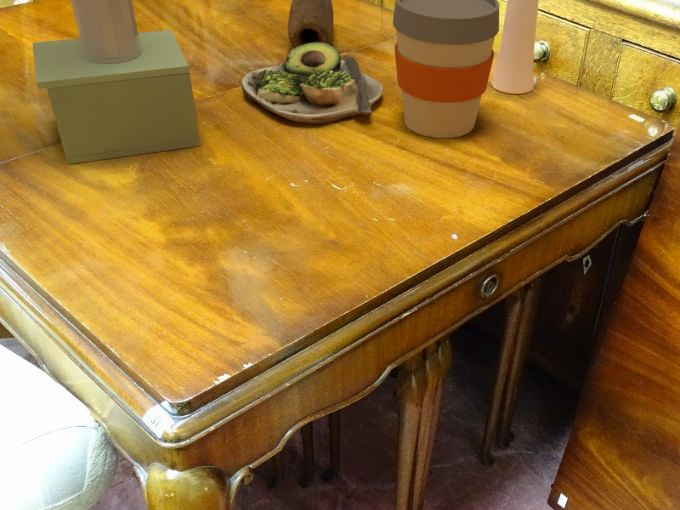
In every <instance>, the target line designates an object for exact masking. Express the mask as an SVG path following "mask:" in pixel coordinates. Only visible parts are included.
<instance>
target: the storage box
mask: <svg viewBox="0 0 680 510" xmlns="http://www.w3.org/2000/svg"><path fill="white" fill-rule="evenodd" d="M46 90H47V91H46V92H47V94H48V98H49V102H50V105H51V108H52V112H53V115H54V119H55V123H56V127H57V130H58V134H59V138H60V142H61V144H62V148H63V152H64V156H65V159H66V163H67V165H74V164H81V163H87V162H94V161H95V162H96V161H103V160H109V159H110V160H111V159H116V158H125V157H130V156H139V155H145V154H152V153H158V152H167V151H173V150H180V149H188V148H194V147H195V148H196V147H201V146H202V145H201V138H200V131H199V125H198V118H197V113H196V112H197V111H196V104H195V99H194V90H193V85H192V78H191V72H190V73H182V74H174V75H165V76H156V77H147V78H138V79H129V80H120V81H111V82H102V83H93V84H84V85H75V86H66V87H57V88H48V89H46Z"/></svg>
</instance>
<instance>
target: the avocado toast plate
mask: <svg viewBox="0 0 680 510" xmlns="http://www.w3.org/2000/svg"><path fill="white" fill-rule="evenodd" d="M285 58H286V60H285V61H284V63H283V64H280V65H273V66H268V67H262V68H258V69H255V70H252V71H251V70H250V71H249V72H247V73H246V74H245V75H243V78H242V80H241V89H242V91H243V93H244V95H245V96H246V97H247V98H248V99H249V100H250V101H252V102H254V103H256V104H258V105H259V106H261V107H263V109H266V110H267V111H270V112H271V113H273V114H276V115H277V116H280V117H283V118H285V119H286V120H289V121H291V122H294V123H301V124H302V123H303V124H310V125H311V124H315V125H319V124H327V123H328V124H329V123H333V122H336V121H339V120H343V119H346V118H349V117H355V116H357V115H359V114H361V115H370V114H372V113H373V108H372V105H374V103H376V102H377V101H379V99H380V98H381V96H382V94H383V91H384V87H383V84H382V83H380V82H379V81H377V80H376V79H375V78H372V77H371V76H369V75H367V74H365V72H362V71H361V70H360V68H359V62H358V61H357V59H356V58H355V57H353V56H347V55H345V56H343V58H341V54H340V52H339V51H338V49H337V48H336V47H335V46H333V45H331V43H330V44H326V43H322V42H313V43H307V44H303V45H300V46H297V47H295V48H294V47H293V48H292V49H291V50H290V51H289V52H288V54H286V55H285Z"/></svg>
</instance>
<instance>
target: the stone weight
mask: <svg viewBox="0 0 680 510" xmlns="http://www.w3.org/2000/svg"><path fill="white" fill-rule="evenodd" d="M287 20H288V22H287V29H288V30H287V34H288V39H289V42H290V44H291V46H292V47H293V49H294V48H295V47H297V46H300V45H303V44H307V43H313V42H322V43H326V44H330V45H331V43H332V39H333V33H334V5H333V1H332V0H292V1H291V4H290V8H289V14H288V19H287Z"/></svg>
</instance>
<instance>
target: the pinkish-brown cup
mask: <svg viewBox="0 0 680 510" xmlns="http://www.w3.org/2000/svg"><path fill="white" fill-rule="evenodd" d="M70 2H71V7H72V10H73V15H74V19H75V23H76V28H77V31H78V35H79V38H80V40H81V44H82V48H83V52H84V55H85V58H86V59H87V60H89V61H91V62H95V63H102V64H115V63H122V62H127V61H130V60H133V59H135V58H137V57H138V56H139V55H140V54H141V46H140V41H139V36H138V33H139V30H138V26H137V21H136V15H135V10H134V5H133V0H70Z"/></svg>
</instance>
